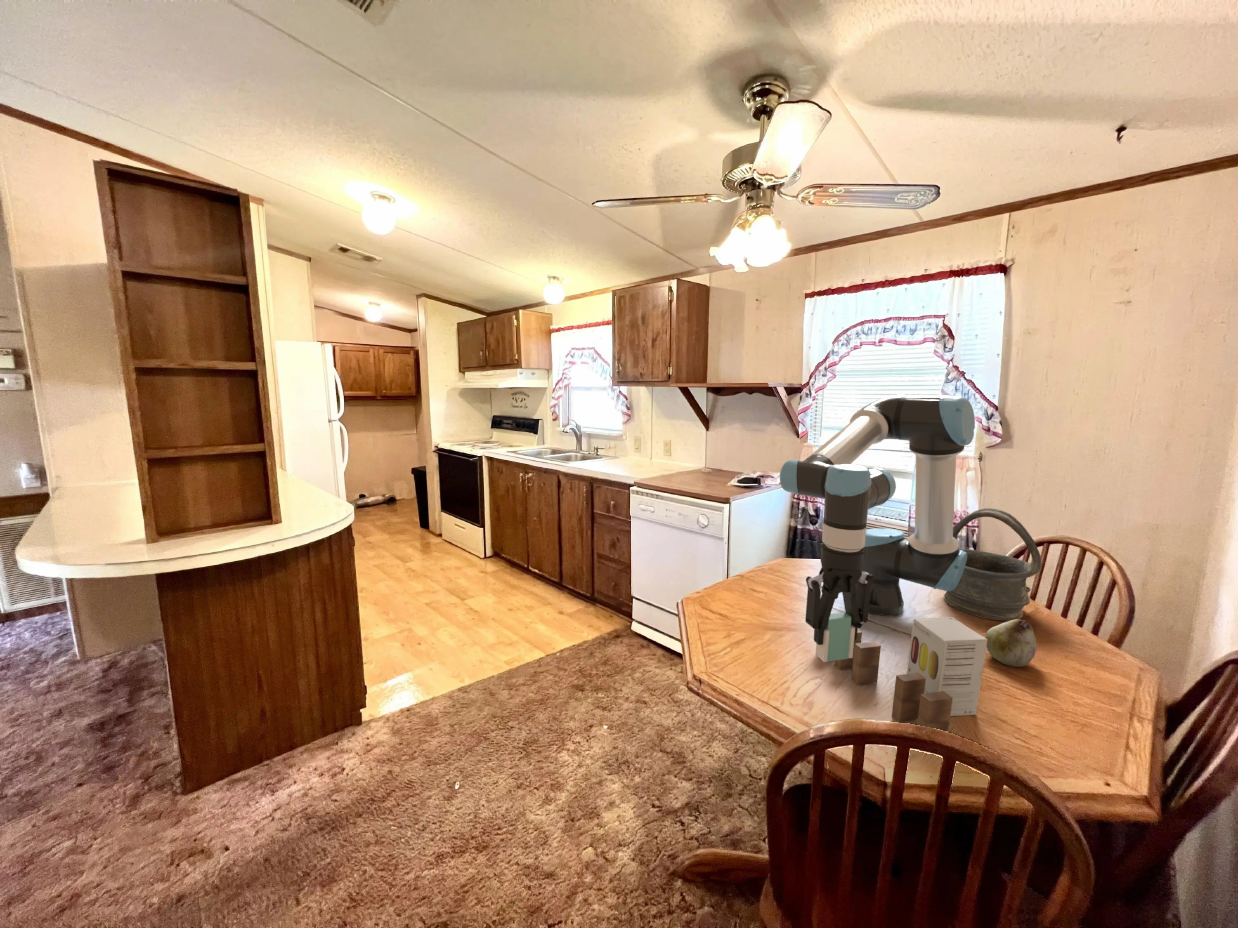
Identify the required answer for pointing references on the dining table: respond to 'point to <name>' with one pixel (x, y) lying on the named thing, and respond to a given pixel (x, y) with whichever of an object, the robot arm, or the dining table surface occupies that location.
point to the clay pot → (994, 575)
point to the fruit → (1012, 642)
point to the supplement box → (948, 660)
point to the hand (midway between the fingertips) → (833, 655)
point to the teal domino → (838, 636)
